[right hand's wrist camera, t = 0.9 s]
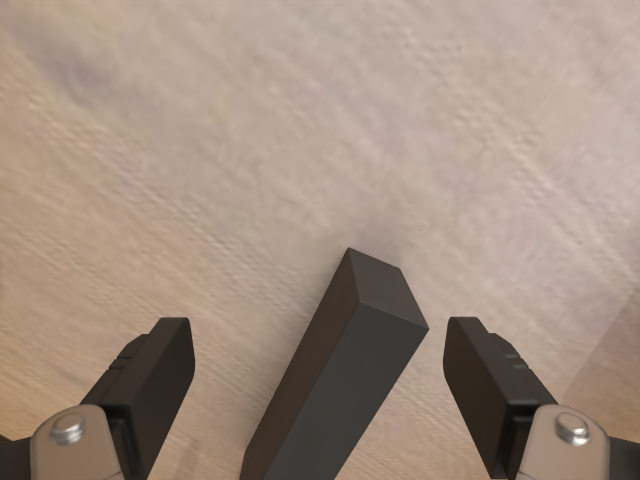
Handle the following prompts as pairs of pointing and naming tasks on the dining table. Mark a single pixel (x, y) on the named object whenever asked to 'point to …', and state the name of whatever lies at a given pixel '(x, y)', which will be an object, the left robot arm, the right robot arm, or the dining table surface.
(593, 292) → the dining table surface
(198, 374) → the dining table surface
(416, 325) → the bar
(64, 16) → the dining table surface
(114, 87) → the dining table surface
